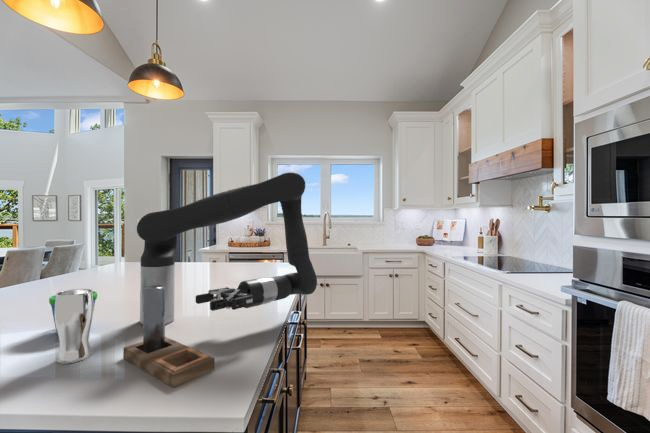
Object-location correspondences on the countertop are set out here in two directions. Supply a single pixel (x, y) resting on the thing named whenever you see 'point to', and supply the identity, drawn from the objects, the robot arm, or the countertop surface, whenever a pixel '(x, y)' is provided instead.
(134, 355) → the wooden peg holder
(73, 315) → the beer glass
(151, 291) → the metal peg
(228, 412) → the countertop surface
